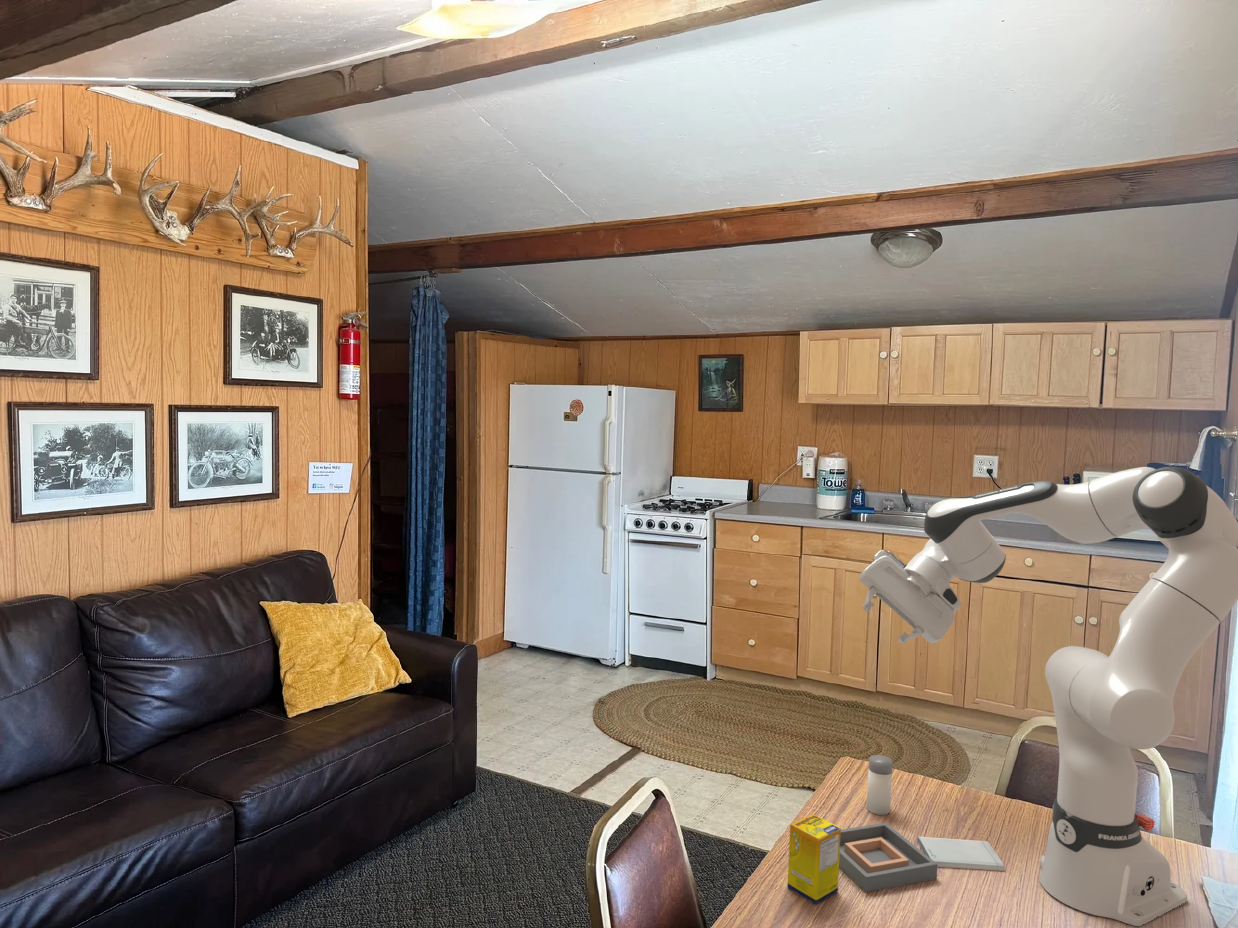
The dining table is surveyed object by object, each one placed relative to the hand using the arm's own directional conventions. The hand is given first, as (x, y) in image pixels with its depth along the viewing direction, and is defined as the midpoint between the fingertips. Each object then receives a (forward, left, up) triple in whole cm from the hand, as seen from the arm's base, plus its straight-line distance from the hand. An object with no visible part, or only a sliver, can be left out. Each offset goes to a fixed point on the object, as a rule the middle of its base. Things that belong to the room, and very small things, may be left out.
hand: (882, 625), depth 171 cm
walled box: (+18, +26, -34) cm, 46 cm away
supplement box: (+33, +30, -34) cm, 56 cm away
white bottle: (+6, +10, -34) cm, 36 cm away
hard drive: (+2, +28, -34) cm, 44 cm away
